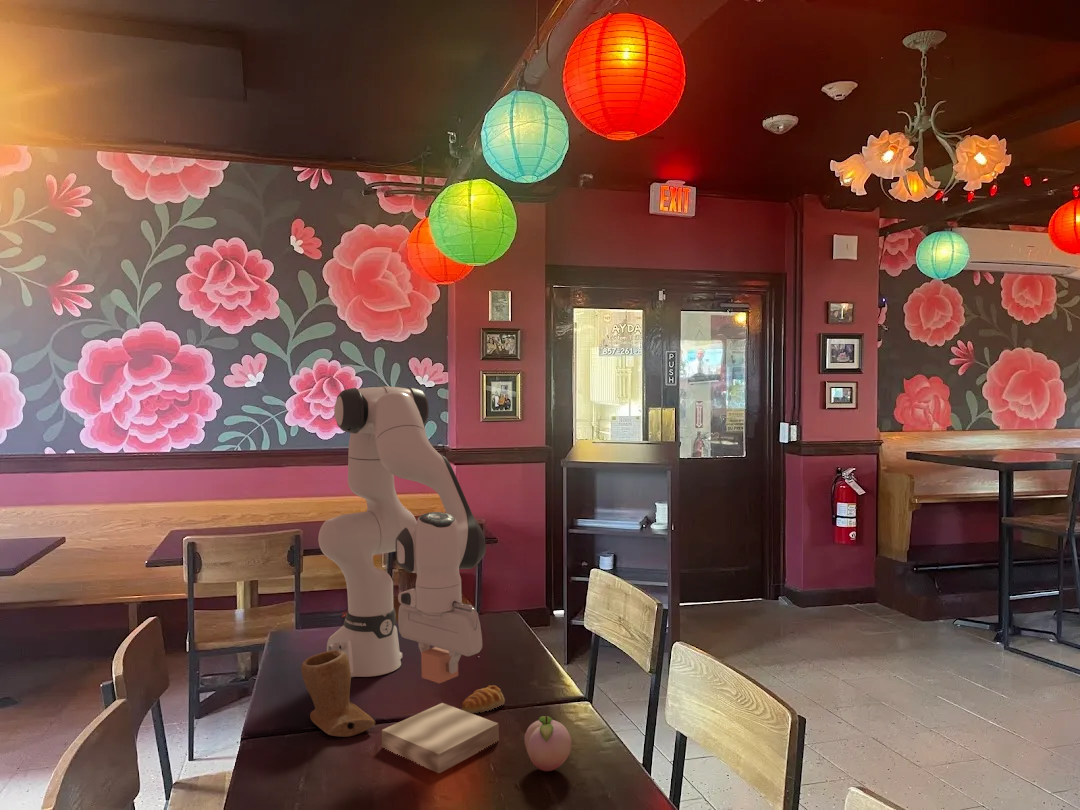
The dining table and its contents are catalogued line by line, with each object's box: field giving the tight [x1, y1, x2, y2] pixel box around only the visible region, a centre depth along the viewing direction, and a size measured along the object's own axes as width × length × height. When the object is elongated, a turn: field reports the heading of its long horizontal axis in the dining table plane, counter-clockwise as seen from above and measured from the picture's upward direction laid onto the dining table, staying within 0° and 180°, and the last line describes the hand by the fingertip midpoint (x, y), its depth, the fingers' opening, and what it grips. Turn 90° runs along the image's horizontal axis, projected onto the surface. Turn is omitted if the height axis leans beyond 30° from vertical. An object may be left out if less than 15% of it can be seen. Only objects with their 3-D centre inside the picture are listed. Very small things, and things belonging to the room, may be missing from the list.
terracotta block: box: [420, 646, 459, 684], centre depth 150 cm, size 5×5×5 cm
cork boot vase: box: [300, 650, 376, 738], centre depth 158 cm, size 15×12×15 cm
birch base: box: [381, 702, 500, 774], centre depth 150 cm, size 16×16×4 cm
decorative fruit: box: [524, 715, 572, 773], centre depth 139 cm, size 9×8×10 cm
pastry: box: [461, 684, 506, 714], centre depth 168 cm, size 9×7×4 cm
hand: (440, 668), depth 150 cm, fingers closed on terracotta block, 5 cm apart
